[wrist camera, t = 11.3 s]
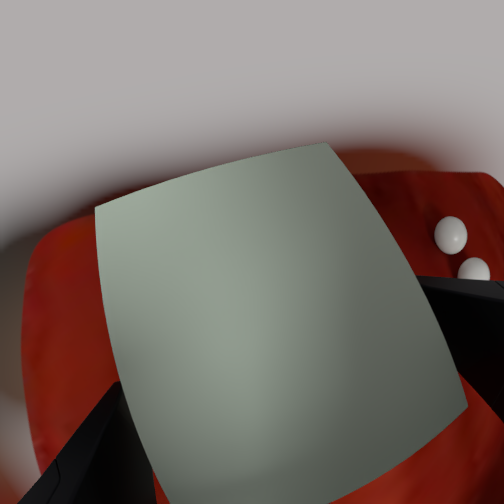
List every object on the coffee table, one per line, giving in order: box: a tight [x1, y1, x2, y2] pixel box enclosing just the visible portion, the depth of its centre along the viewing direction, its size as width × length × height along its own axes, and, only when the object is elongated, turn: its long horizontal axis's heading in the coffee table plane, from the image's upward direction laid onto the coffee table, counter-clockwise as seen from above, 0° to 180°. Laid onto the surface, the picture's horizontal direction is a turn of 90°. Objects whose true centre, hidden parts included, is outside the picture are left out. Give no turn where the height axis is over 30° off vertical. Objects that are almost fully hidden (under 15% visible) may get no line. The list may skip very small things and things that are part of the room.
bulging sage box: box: [95, 142, 468, 504], centre depth 10 cm, size 9×7×10 cm
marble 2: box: [457, 257, 490, 280], centre depth 16 cm, size 3×3×3 cm
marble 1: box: [434, 216, 467, 254], centre depth 17 cm, size 3×3×3 cm
